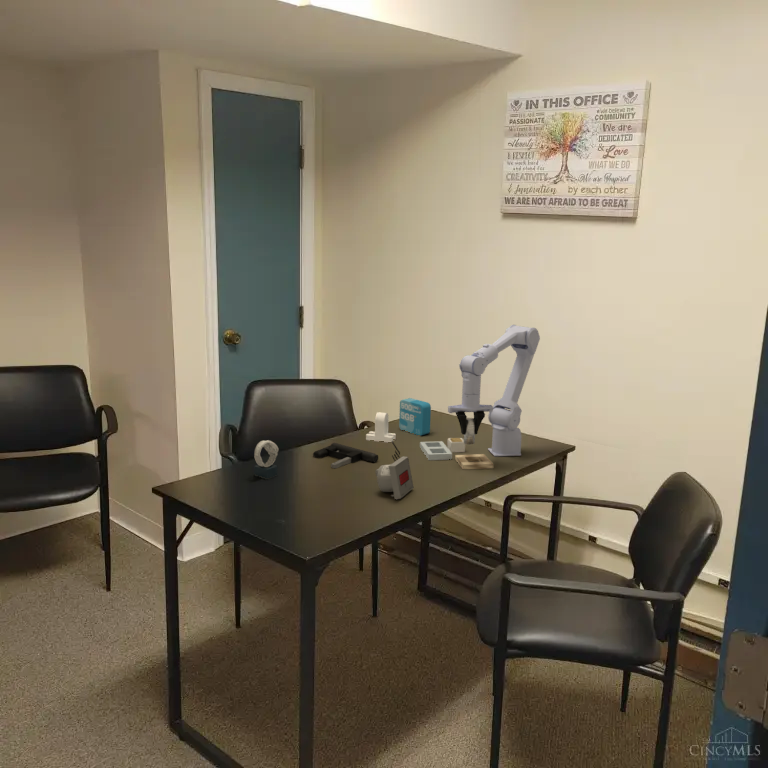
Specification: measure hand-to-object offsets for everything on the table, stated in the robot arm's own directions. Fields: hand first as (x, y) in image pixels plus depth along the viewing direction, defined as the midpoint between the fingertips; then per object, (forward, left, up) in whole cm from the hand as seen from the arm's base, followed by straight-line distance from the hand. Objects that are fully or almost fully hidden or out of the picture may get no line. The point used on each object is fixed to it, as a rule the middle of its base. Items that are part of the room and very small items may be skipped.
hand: (469, 433), depth 232 cm
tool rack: (+8, -11, -10) cm, 17 cm away
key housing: (0, -14, -10) cm, 17 cm away
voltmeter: (+27, +17, -10) cm, 34 cm away
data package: (+10, -37, -10) cm, 40 cm away
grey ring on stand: (+65, +5, -10) cm, 66 cm away
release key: (0, -14, -9) cm, 16 cm away
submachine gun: (+41, -7, -11) cm, 43 cm away
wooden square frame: (-2, +1, -10) cm, 10 cm away
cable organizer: (+24, -29, -10) cm, 39 cm away
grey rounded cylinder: (0, 0, -3) cm, 3 cm away
